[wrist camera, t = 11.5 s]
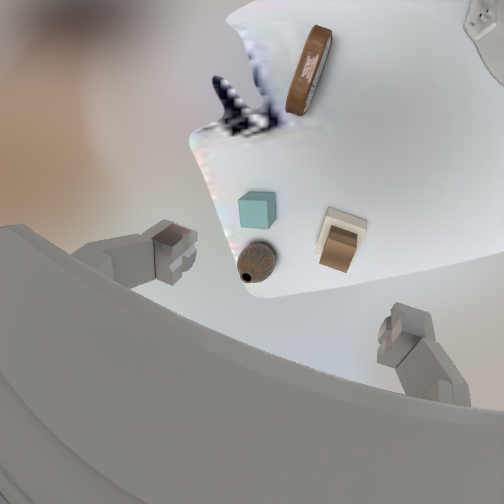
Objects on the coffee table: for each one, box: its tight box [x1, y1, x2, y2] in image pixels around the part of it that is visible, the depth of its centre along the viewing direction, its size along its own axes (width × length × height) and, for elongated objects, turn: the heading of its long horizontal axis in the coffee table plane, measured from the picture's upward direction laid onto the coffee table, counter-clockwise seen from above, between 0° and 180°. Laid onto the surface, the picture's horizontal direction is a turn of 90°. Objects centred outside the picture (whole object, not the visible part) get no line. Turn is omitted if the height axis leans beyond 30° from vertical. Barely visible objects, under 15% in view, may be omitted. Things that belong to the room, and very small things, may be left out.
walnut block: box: [319, 225, 357, 273], centre depth 41 cm, size 4×4×5 cm
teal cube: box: [238, 192, 276, 229], centre depth 48 cm, size 5×5×5 cm
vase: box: [237, 243, 276, 283], centre depth 51 cm, size 7×7×9 cm
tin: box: [286, 25, 332, 116], centre depth 32 cm, size 15×3×8 cm, turn 162°
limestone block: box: [314, 208, 367, 265], centre depth 45 cm, size 7×7×4 cm
